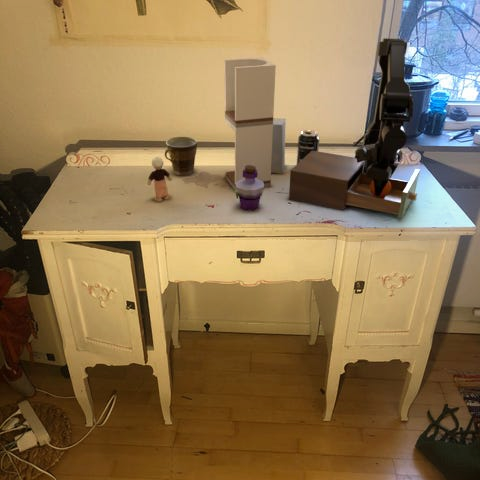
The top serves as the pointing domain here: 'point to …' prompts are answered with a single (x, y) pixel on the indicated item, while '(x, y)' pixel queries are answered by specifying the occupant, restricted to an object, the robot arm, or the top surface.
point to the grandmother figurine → (159, 179)
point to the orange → (384, 192)
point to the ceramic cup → (182, 154)
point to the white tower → (250, 115)
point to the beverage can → (307, 144)
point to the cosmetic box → (278, 146)
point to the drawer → (391, 203)
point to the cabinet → (324, 179)
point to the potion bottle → (249, 189)
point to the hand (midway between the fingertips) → (379, 191)
